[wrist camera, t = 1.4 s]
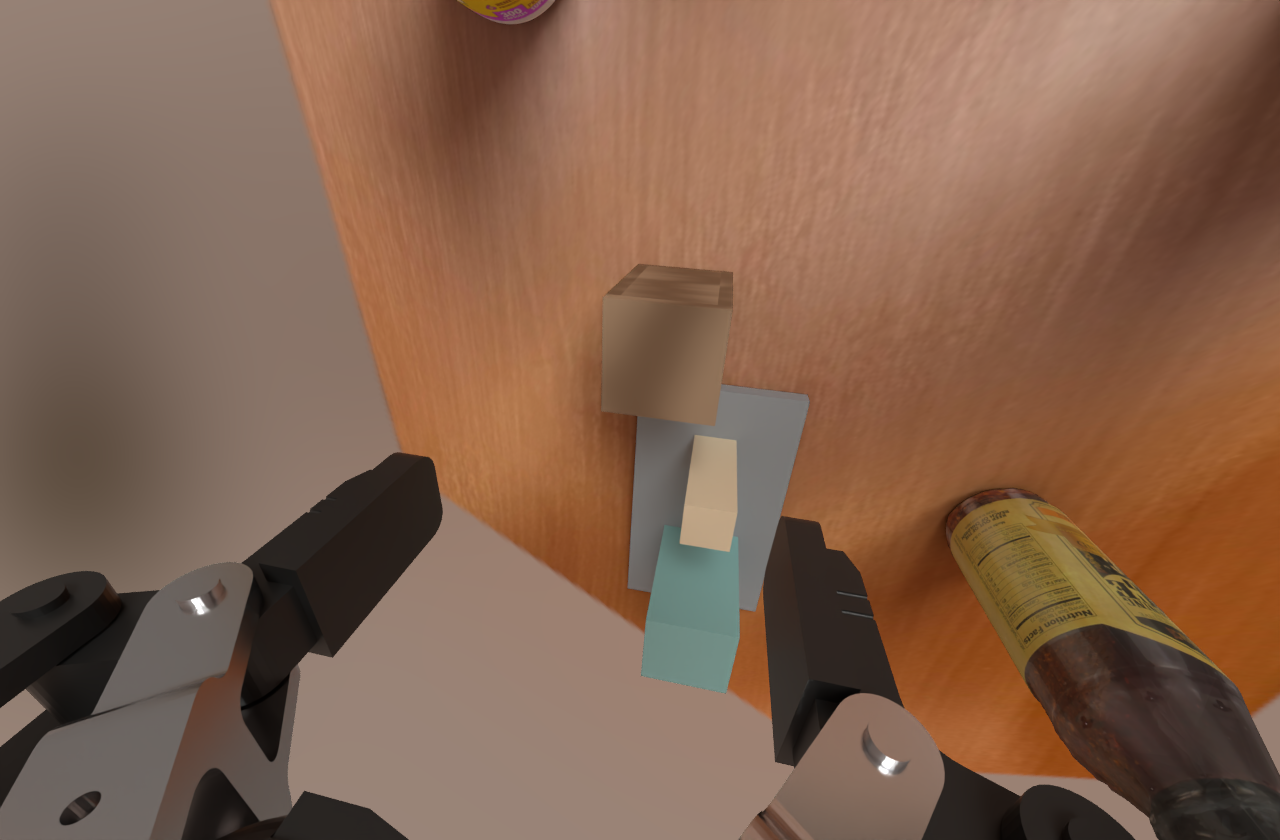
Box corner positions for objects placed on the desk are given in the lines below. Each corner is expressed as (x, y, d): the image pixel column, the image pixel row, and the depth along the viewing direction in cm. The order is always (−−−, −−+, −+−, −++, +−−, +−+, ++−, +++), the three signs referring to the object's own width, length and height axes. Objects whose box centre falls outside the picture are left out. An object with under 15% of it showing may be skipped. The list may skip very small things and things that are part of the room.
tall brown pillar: (732, 272, 25) (732, 310, 18) (719, 362, 27) (714, 426, 20) (638, 264, 25) (602, 297, 18) (634, 352, 28) (601, 411, 21)
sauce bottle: (1064, 540, 29) (1566, 1092, 11) (955, 568, 31) (1234, 1058, 14) (1037, 461, 27) (1599, 989, 9) (923, 498, 29) (1202, 971, 12)
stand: (807, 394, 27) (837, 483, 19) (754, 601, 36) (760, 719, 28) (642, 374, 28) (608, 450, 21) (630, 578, 37) (602, 686, 29)
